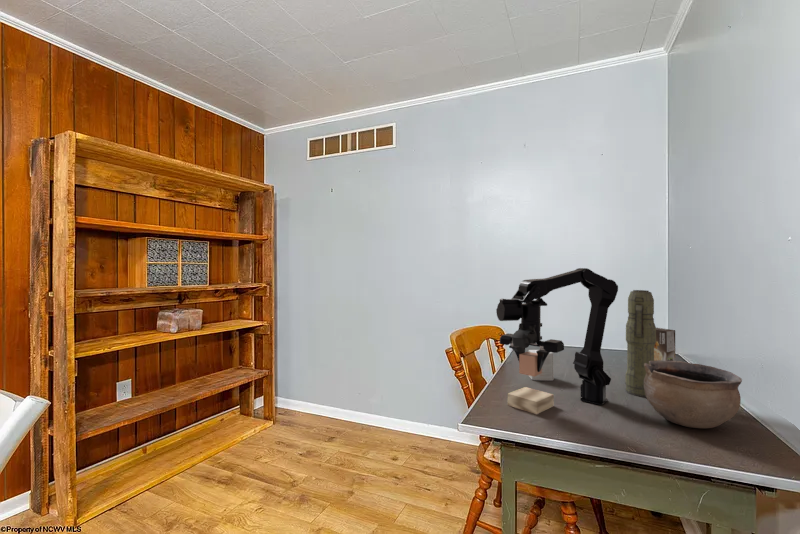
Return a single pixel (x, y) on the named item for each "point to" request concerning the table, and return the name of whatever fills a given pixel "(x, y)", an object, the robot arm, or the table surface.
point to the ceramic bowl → (692, 393)
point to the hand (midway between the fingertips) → (530, 370)
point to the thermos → (639, 339)
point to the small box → (545, 368)
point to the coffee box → (664, 345)
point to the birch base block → (530, 400)
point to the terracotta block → (528, 364)
